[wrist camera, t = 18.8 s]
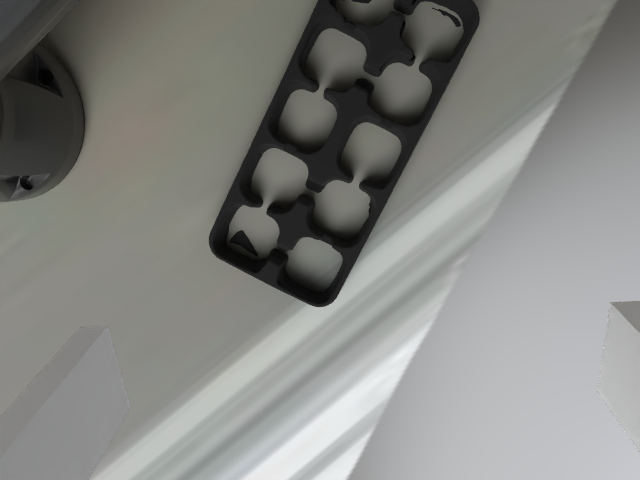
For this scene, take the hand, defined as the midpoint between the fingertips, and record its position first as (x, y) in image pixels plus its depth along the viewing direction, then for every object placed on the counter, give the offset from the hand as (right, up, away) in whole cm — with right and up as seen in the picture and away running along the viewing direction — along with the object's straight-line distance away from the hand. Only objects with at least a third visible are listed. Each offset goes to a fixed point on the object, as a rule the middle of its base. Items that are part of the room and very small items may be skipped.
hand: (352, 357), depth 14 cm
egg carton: (+1, +12, +33) cm, 35 cm away
